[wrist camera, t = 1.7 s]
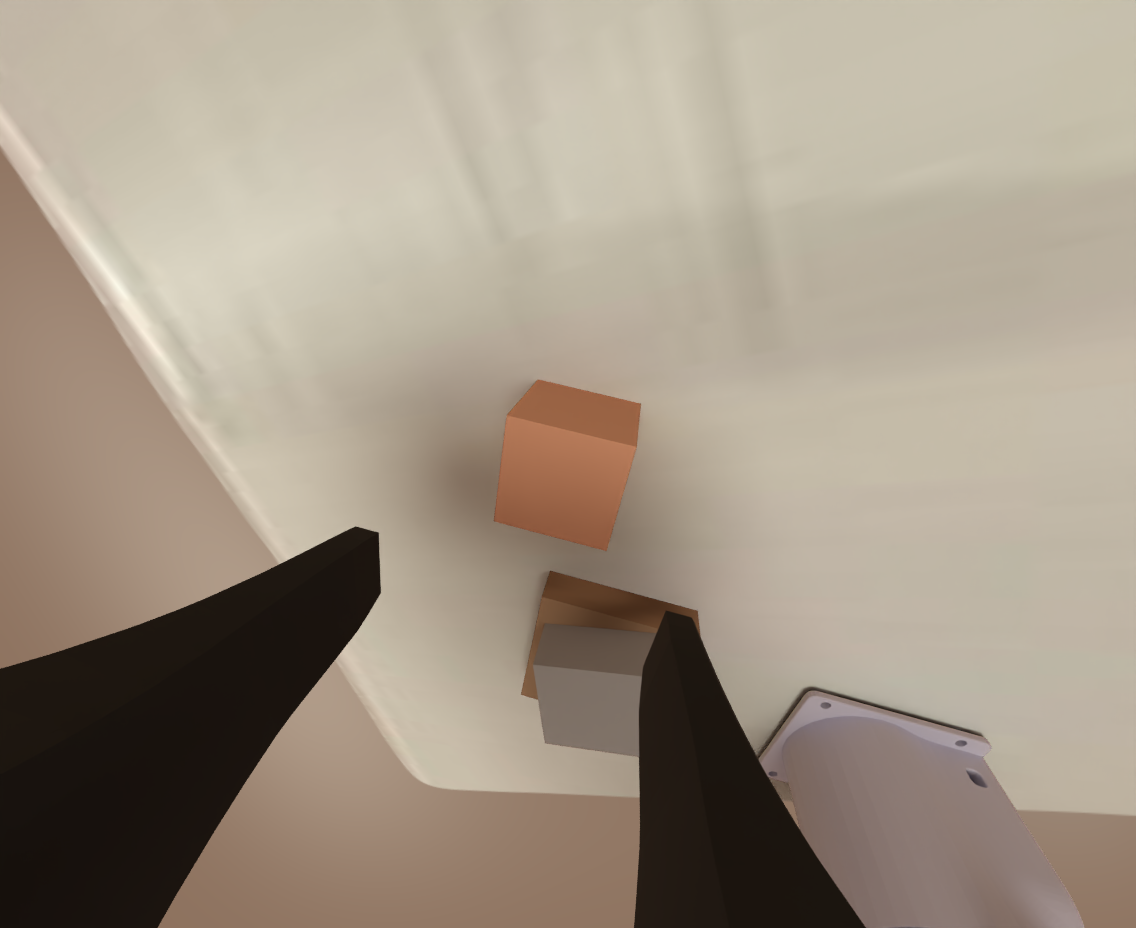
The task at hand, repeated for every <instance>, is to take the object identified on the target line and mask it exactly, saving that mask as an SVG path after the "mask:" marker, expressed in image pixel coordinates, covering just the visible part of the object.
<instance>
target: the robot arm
mask: <svg viewBox="0 0 1136 928" xmlns="http://www.w3.org/2000/svg"><path fill="white" fill-rule="evenodd" d="M380 593H381V585H380V558H379V533H378V532H374V531H370V530H367V529H363V528H359V527H354V528H351V529H349V530H347V531H345V532H343V533H341V534H339V535H337V536H335V537H333V538H331V539H329V540H327V541H325V542H323V543H321V544H319V545H317V546H315V547H313V548H311V549H309V550H307V551H305V552H303V553H302V554H299V555H297V556H295V557H293V558H291V559H289V560H287V561H285V562H283V563H281V564H279V565H277V566H275V567H273V568H271V569H269V570H267V571H265V572H263V573H261V574H259V575H257V576H255V577H252V578H250V579H248V580H245V581H243V582H241V583H239V584H237V585H235V586H232V587H230V588H228V589H226V590H223V591H221V592H219V593H217V594H214V595H212V596H210V597H208V598H205V599H203V600H201V601H198V602H196V603H194V604H191V605H189V606H186V607H184V608H181V609H179V610H176V611H174V612H171V613H168V614H166V615H163V616H161V617H158V618H155V619H153V620H150V621H147V622H145V623H142V624H140V625H137V626H134V627H131V628H128V629H125V630H122V631H119V632H116V633H113V634H110V635H107V636H104V637H101V638H98V639H95V640H92V641H89V642H86V643H84V644H80V645H77V646H74V647H71V648H68V649H65V650H62V651H59V652H56V653H53V654H50V655H46V656H43V657H39V658H36V659H32V660H29V661H26V662H22V663H19V664H16V665H12V666H9V667H5V668H1V669H0V928H158V926H159V924H160V922H161V921H162V919H163V917H164V915H165V914H166V912H167V910H168V908H169V906H170V905H171V903H172V901H173V900H174V898H175V896H176V894H177V892H178V891H179V889H180V888H181V886H182V884H183V883H184V881H185V879H186V878H187V876H188V874H189V873H190V871H191V869H192V868H193V866H194V864H195V863H196V861H197V859H198V858H199V856H200V854H201V853H202V851H203V849H204V848H205V846H206V844H207V843H208V841H209V839H210V838H211V836H212V834H213V833H214V831H215V830H216V828H217V826H218V825H219V823H220V822H221V820H222V818H223V817H224V815H225V814H226V812H227V811H228V809H229V807H230V806H231V804H232V802H233V801H234V799H235V798H236V796H237V795H238V793H239V791H240V790H241V788H242V787H243V785H244V784H245V782H246V780H247V779H248V777H249V776H250V774H251V773H252V771H253V770H254V768H255V767H256V765H257V764H258V762H259V761H260V759H261V758H262V756H263V755H264V753H265V752H266V750H267V749H268V747H269V746H270V744H271V743H272V741H273V740H274V738H275V737H276V735H277V734H278V732H279V731H280V730H281V728H282V727H283V726H284V724H285V723H286V722H287V720H288V719H289V717H290V716H291V715H292V713H293V712H294V711H295V710H296V708H297V707H298V706H299V704H300V703H301V702H302V701H303V700H304V698H305V697H306V696H307V694H308V693H309V692H310V691H311V689H312V688H313V687H314V686H315V684H316V683H317V682H318V681H319V679H320V678H321V677H322V675H323V674H324V673H325V672H326V671H327V669H328V668H329V667H330V665H331V664H332V663H333V662H334V660H335V659H336V658H337V657H338V655H339V654H340V653H341V651H342V650H343V649H344V648H345V646H346V645H347V644H348V642H349V641H350V640H351V639H352V637H353V636H354V635H355V633H356V632H357V631H358V629H359V628H360V626H361V625H362V623H363V621H364V620H365V618H366V617H367V615H368V614H369V612H370V610H371V608H372V607H373V605H374V603H375V602H376V600H377V598H378V597H379V595H380ZM991 749H992V746H991V745H990V743H989V742H988V740H987V739H986V738H984V737H981V736H978V735H974V734H970V733H967V732H963V731H960V730H956V729H952V728H949V727H945V726H942V725H938V724H934V723H931V722H927V721H924V720H920V719H916V718H913V717H909V716H906V715H902V714H898V713H895V712H891V711H888V710H884V709H880V708H877V707H873V706H870V705H866V704H862V703H859V702H855V701H852V700H848V699H844V698H841V697H837V696H834V695H830V694H826V693H823V692H819V691H809V692H807V693H806V694H805V695H804V696H803V698H802V699H801V700H800V702H799V703H798V705H797V706H796V707H795V709H794V710H793V712H792V713H791V714H790V716H789V717H788V719H787V720H786V721H785V723H784V724H783V725H782V727H781V728H780V730H779V731H778V732H777V734H776V735H775V737H774V738H773V739H772V741H771V742H770V744H769V745H768V746H767V748H766V749H765V751H764V752H763V753H762V755H761V756H760V757H759V759H758V758H757V756H756V754H755V752H754V750H753V749H752V747H751V745H750V743H749V741H748V739H747V737H746V735H745V733H744V731H743V729H742V728H741V726H740V724H739V722H738V720H737V718H736V715H735V713H734V711H733V709H732V707H731V705H730V703H729V701H728V699H727V697H726V695H725V692H724V690H723V688H722V686H721V684H720V682H719V679H718V677H717V675H716V673H715V670H714V668H713V666H712V664H711V661H710V659H709V657H708V654H707V652H706V649H705V647H704V645H703V642H702V640H701V637H700V635H699V632H698V630H697V627H696V625H695V622H694V620H693V619H692V617H689V616H685V615H681V614H677V613H674V612H670V611H665V614H664V616H663V619H662V621H661V623H660V626H659V628H658V631H657V633H656V636H655V638H654V641H653V643H652V645H651V648H650V650H649V653H648V655H647V658H646V660H645V663H644V665H643V671H642V681H641V691H640V702H639V778H640V850H639V865H638V880H637V881H638V882H637V897H636V910H635V923H634V928H1085V927H1084V925H1083V922H1082V919H1081V917H1080V914H1079V912H1078V910H1077V908H1076V906H1075V904H1074V902H1073V900H1072V898H1071V896H1070V895H1069V893H1068V891H1067V889H1066V888H1065V886H1064V884H1063V883H1062V881H1061V880H1060V878H1059V876H1058V875H1057V873H1056V872H1055V871H1054V869H1053V867H1052V865H1051V864H1050V862H1049V861H1048V859H1047V858H1046V856H1045V854H1044V853H1043V851H1042V850H1041V848H1040V847H1039V845H1038V843H1037V842H1036V840H1035V839H1034V837H1033V836H1032V834H1031V833H1030V831H1029V829H1028V828H1027V826H1026V825H1025V823H1024V821H1023V820H1022V818H1021V817H1020V815H1019V814H1018V812H1017V810H1016V809H1015V807H1014V806H1013V804H1012V803H1011V801H1010V799H1009V798H1008V796H1007V795H1006V793H1005V792H1004V790H1003V788H1002V787H1001V785H1000V784H999V782H998V781H997V779H996V777H995V776H994V774H993V773H992V771H991V770H990V768H989V766H988V765H987V763H986V762H985V760H984V759H983V757H984V756H985V755H986V754H988V753H989V752H990V751H991ZM768 777H769V778H773V779H776V780H779V781H783V782H786V783H789V787H790V791H791V795H792V799H793V803H794V807H795V811H796V815H797V819H798V823H799V827H800V829H799V828H798V826H797V825H796V823H795V822H794V820H793V818H792V817H791V815H790V814H789V812H788V810H787V808H786V807H785V805H784V803H783V802H782V800H781V798H780V797H779V795H778V793H777V792H776V790H775V788H774V786H773V785H772V783H771V781H770V780H769V778H768Z"/></svg>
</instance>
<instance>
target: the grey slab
mask: <svg viewBox="0 0 1136 928" xmlns="http://www.w3.org/2000/svg"><path fill="white" fill-rule="evenodd" d="M655 636H656V633H648V632H636V631H625V630H614V629H603V628H592V627H581V626H570V625H558V624H547V623H545V625H544V628H543V632H542V635H541V639H540V642H539V645H538V649H537V652H536V656H535V659H534V662H533V669H534V675H535V682H536V688H537V695H538V701H539V708H540V714H541V721H542V727H543V734H544V740H545V743H546V744H553V745H560V746H567V747H574V748H581V749H588V750H595V751H602V752H609V753H616V754H623V755H630V756H637V757H639V702H640V691H641V681H642V671H643V665H644V663H645V660H646V658H647V655H648V653H649V650H650V648H651V645H652V643H653V641H654V638H655Z"/></svg>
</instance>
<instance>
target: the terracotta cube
mask: <svg viewBox="0 0 1136 928" xmlns="http://www.w3.org/2000/svg"><path fill="white" fill-rule="evenodd" d="M640 407H641V404H639V403H635V402H631V401H627V400H622V399H618V398H614V397H610V396H606V395H601V394H597V393H593V392H589V391H584V390H580V389H576V388H572V387H567V386H563V385H559V384H555V383H551V382H546V381H542V380H537V381H536V382H535V384H534V385H533V386H532V387H531V388H530V389H529V390H528V392H527V393H526V394H525V395H524V396H523V397H522V399H521V400H520V401H519V402H518V403H517V404H516V405H515V407H514V408H513V409H512V410H511V411H510V412H509V413H508V415H507V418H506V426H505V434H504V443H503V451H502V459H501V467H500V475H499V483H498V491H497V500H496V508H495V516H494V521H495V522H499V523H503V524H506V525H510V526H514V527H518V528H522V529H525V530H529V531H533V532H537V533H541V534H544V535H548V536H552V537H556V538H559V539H563V540H567V541H571V542H575V543H578V544H582V545H586V546H590V547H594V548H597V549H601V550H605V551H607V548H608V544H609V541H610V537H611V534H612V530H613V527H614V523H615V520H616V516H617V513H618V509H619V506H620V503H621V499H622V496H623V492H624V489H625V485H626V482H627V478H628V475H629V471H630V468H631V464H632V461H633V458H634V454H635V451H636V447H637V437H638V427H639V417H640Z"/></svg>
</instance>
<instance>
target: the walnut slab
mask: <svg viewBox="0 0 1136 928" xmlns="http://www.w3.org/2000/svg"><path fill="white" fill-rule="evenodd" d="M665 611H670V612H674V613H677V614H681V615H685V616H689V617H692V619H693V620H694V622H695V625H696V627H697V630H698V632H699V635H700V628H699V620H698V611H696V610H692V609H689V608H685V607H681V606H678V605H674V604H670V603H667V602H663V601H659V600H656V599H652V598H648V597H645V596H641V595H637V594H634V593H630V592H626V591H623V590H619V589H615V588H611V587H608V586H604V585H600V584H597V583H593V582H589V581H586V580H582V579H578V578H575V577H571V576H567V575H564V574H560V573H556V572H553V571H550V573H549V576H548V580H547V583H546V586H545V589H544V592H543V595H542V599H541V603H540V608H539V613H538V618H537V622H536V627H535V632H534V636H533V641H532V646H531V650H530V655H529V660H528V664H527V669H526V674H525V678H524V683H523V688H522V692H521V695H524V696H527V697H531V698H534V699H538V695H537V688H536V682H535V675H534V669H533V662H534V659H535V656H536V652H537V649H538V645H539V642H540V639H541V635H542V632H543V628H544V625H545V623H547V624H558V625H570V626H581V627H592V628H603V629H614V630H625V631H636V632H648V633H657V631H658V628H659V626H660V623H661V621H662V619H663V616H664V614H665Z"/></svg>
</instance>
